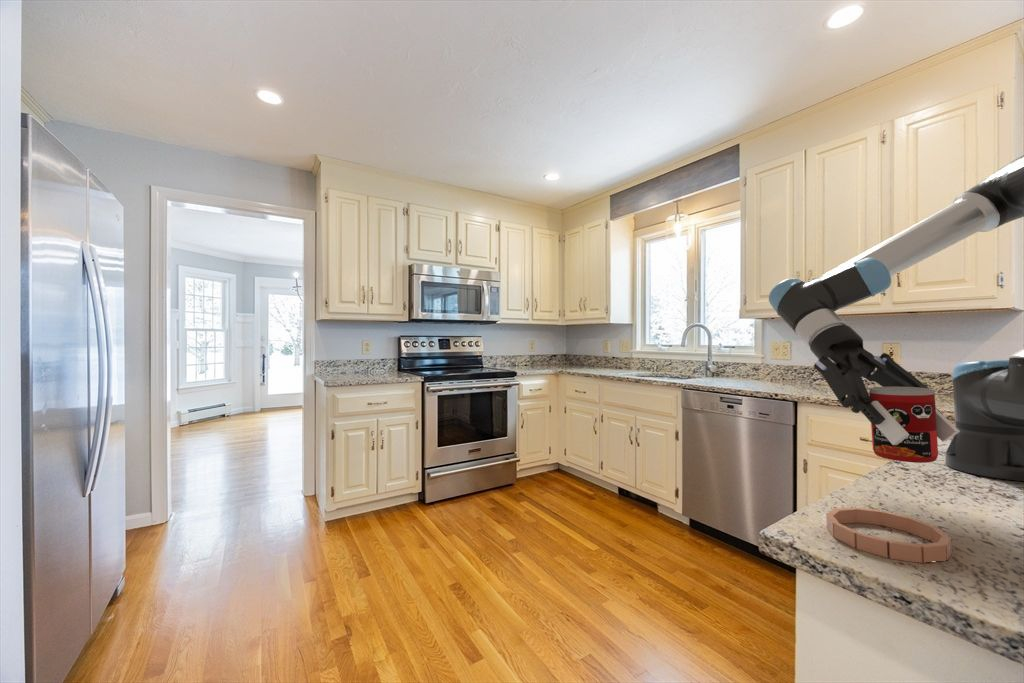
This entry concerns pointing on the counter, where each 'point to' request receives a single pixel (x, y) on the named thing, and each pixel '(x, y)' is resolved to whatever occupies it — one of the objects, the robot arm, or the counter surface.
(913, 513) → the counter surface
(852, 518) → the ring
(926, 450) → the canned food
